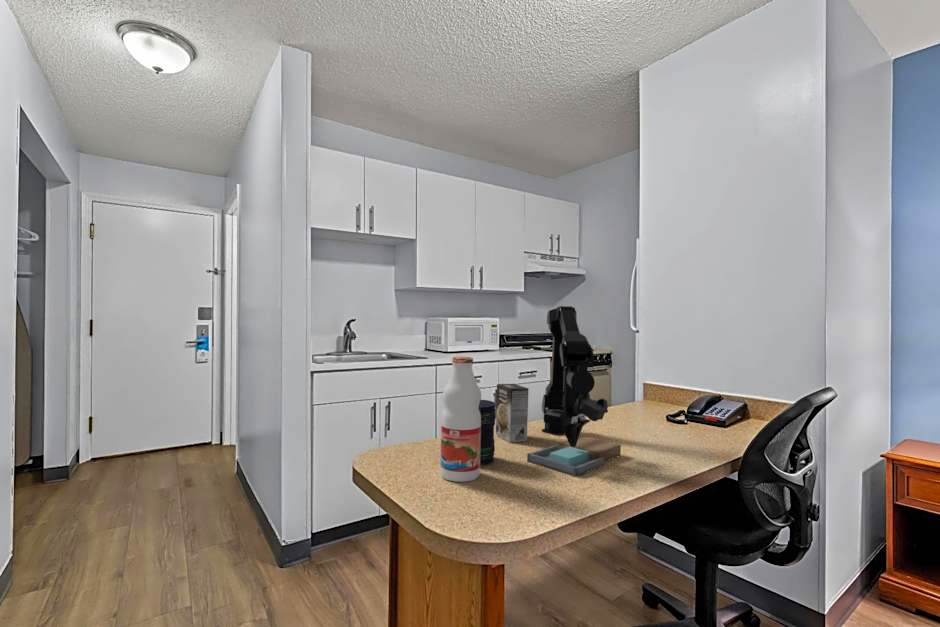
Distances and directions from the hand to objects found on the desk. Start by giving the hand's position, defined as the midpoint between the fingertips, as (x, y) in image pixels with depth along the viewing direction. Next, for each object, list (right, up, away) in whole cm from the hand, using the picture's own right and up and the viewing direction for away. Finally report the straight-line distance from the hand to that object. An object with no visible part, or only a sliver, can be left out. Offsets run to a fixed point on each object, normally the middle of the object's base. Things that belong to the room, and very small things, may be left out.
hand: (572, 446), depth 127 cm
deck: (+6, -4, +6) cm, 9 cm away
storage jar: (-26, -4, -1) cm, 26 cm away
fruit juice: (-29, -4, -13) cm, 32 cm away
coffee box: (-14, -3, +21) cm, 26 cm away
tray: (-2, -4, -2) cm, 5 cm away
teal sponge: (-1, -3, -1) cm, 4 cm away
